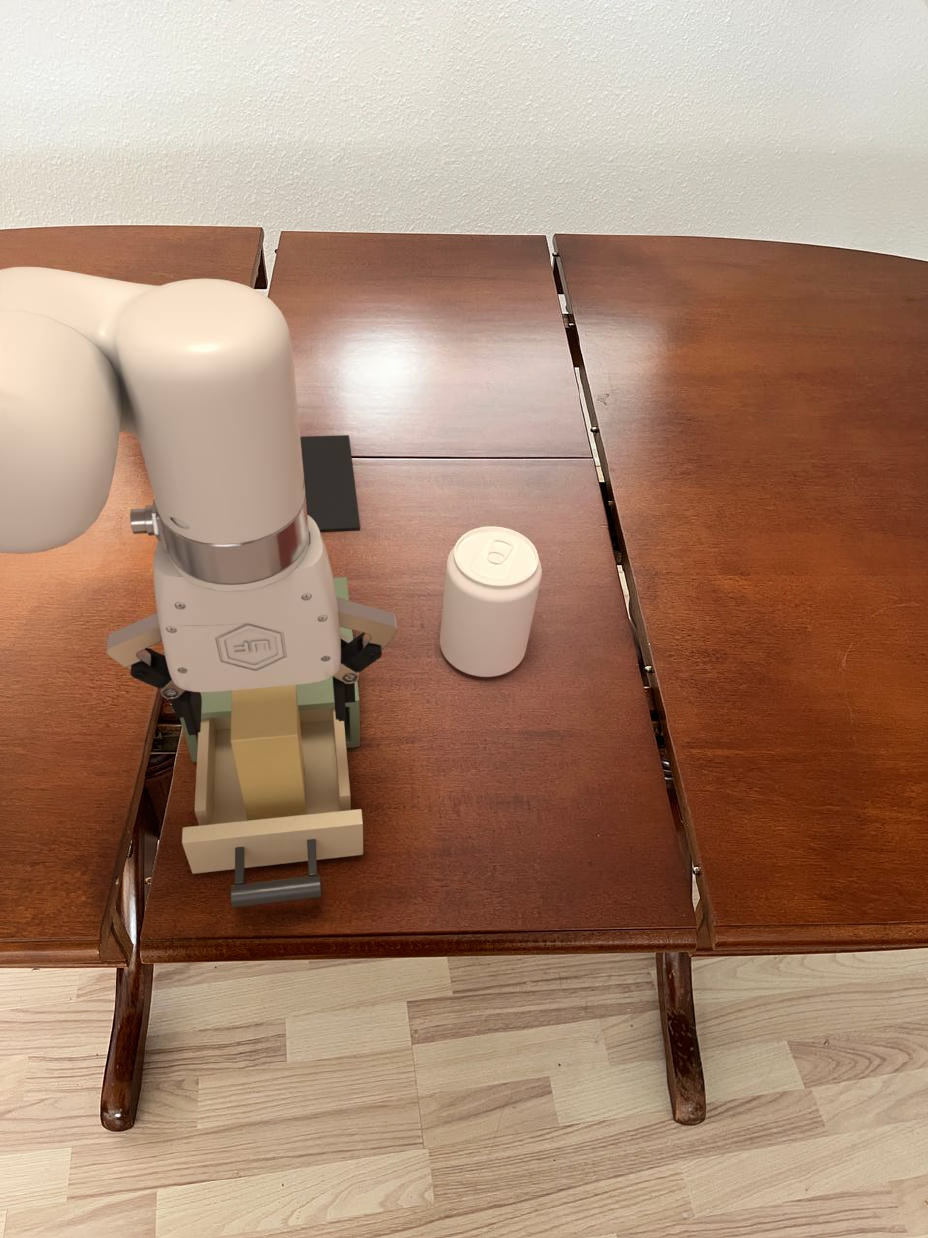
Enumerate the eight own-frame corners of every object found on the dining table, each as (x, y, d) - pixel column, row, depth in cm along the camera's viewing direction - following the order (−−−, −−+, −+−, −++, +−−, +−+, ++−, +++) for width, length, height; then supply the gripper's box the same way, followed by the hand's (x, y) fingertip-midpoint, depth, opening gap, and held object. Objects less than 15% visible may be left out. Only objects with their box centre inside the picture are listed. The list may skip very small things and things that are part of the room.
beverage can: (426, 664, 78) (433, 571, 69) (456, 605, 84) (467, 511, 75) (509, 692, 77) (528, 601, 68) (535, 630, 82) (555, 538, 73)
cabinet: (360, 747, 72) (359, 700, 67) (192, 762, 70) (178, 715, 65) (348, 625, 81) (346, 576, 76) (198, 635, 78) (187, 585, 74)
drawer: (368, 909, 62) (368, 880, 58) (189, 931, 60) (178, 902, 56) (350, 719, 73) (349, 684, 69) (199, 732, 70) (190, 697, 67)
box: (247, 820, 64) (230, 741, 57) (247, 770, 67) (231, 688, 59) (306, 814, 65) (298, 735, 57) (304, 764, 68) (295, 683, 60)
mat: (160, 539, 86) (160, 536, 86) (170, 443, 97) (170, 440, 96) (360, 530, 90) (360, 527, 89) (348, 437, 100) (348, 434, 100)
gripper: (53, 584, 42) (131, 771, 55) (406, 561, 45) (401, 744, 57) (74, 485, 47) (140, 678, 59) (390, 470, 49) (389, 657, 62)
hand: (268, 710), depth 58 cm, fingers open, 9 cm apart
